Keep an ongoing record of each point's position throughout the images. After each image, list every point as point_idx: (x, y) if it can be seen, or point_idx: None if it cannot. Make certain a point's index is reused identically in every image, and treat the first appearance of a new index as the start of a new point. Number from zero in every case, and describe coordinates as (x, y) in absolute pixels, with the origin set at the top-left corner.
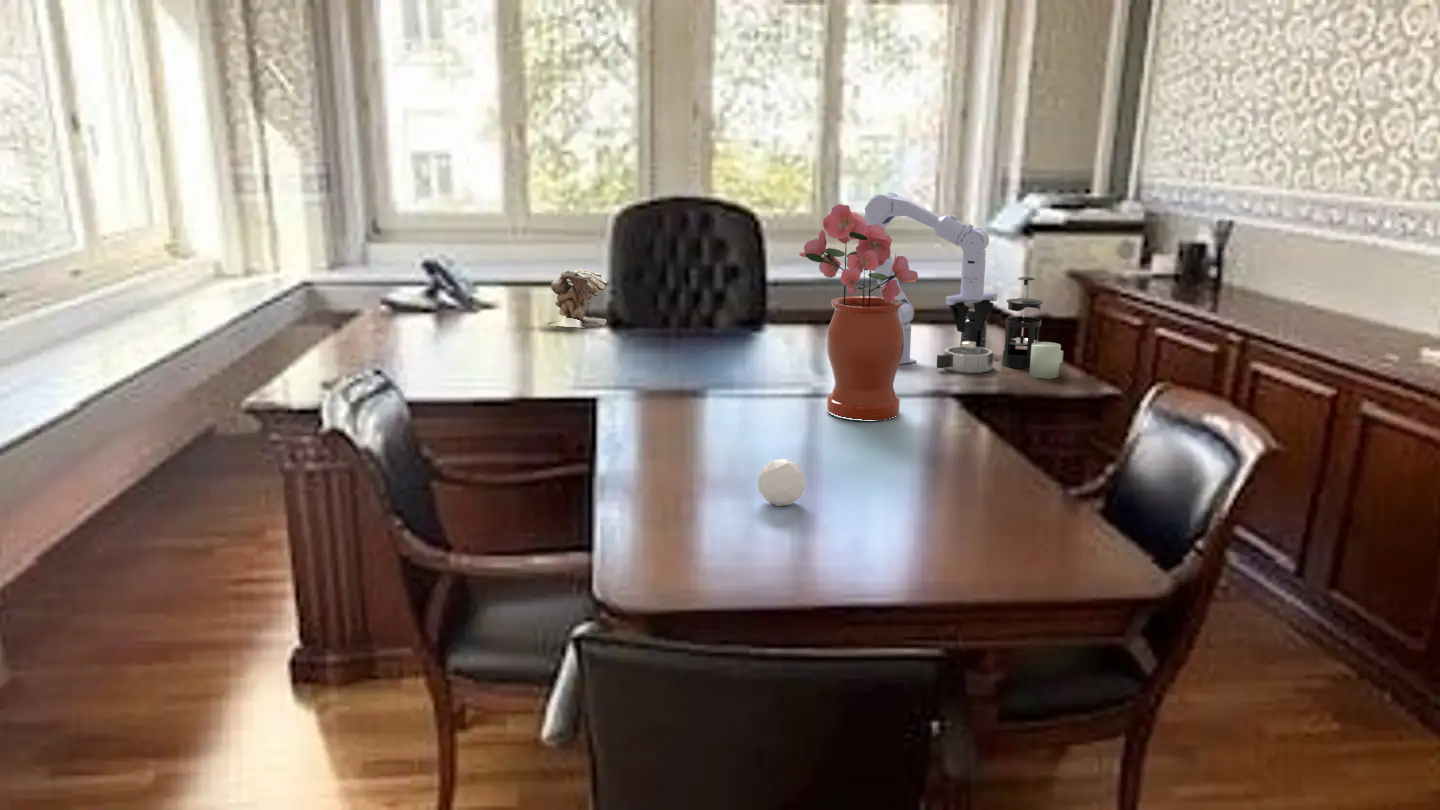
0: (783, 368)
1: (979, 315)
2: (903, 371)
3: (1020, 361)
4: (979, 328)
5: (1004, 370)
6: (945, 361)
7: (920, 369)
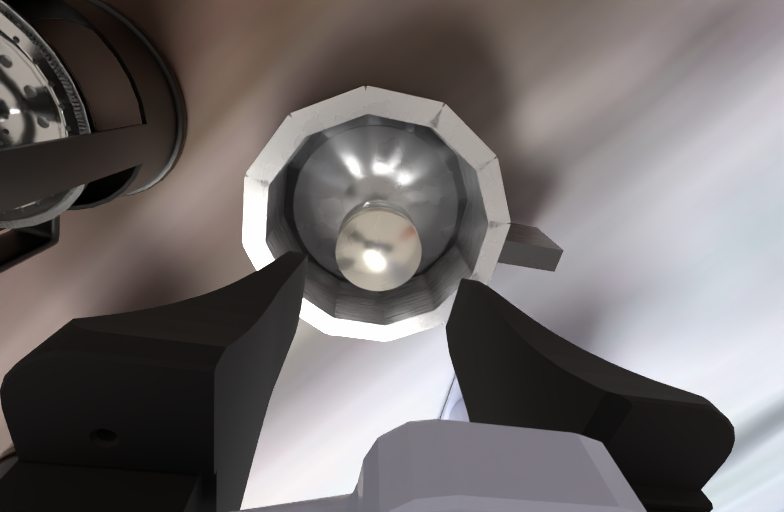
0: (779, 484)
1: (271, 355)
2: (608, 304)
3: (119, 32)
4: (304, 269)
5: (254, 61)
6: (518, 232)
7: (537, 294)
